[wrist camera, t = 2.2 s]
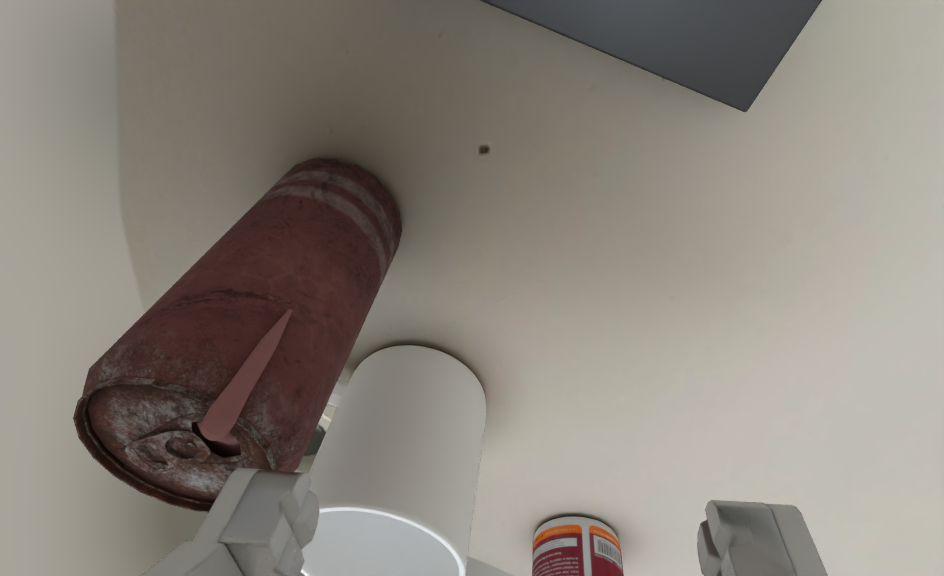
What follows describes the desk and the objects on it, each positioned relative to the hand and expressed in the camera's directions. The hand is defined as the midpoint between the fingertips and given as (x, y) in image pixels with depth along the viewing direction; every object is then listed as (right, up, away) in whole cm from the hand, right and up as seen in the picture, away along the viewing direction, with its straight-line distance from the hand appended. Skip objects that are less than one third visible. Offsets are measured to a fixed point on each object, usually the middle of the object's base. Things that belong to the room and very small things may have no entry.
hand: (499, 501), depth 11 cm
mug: (-5, -1, +21) cm, 22 cm away
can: (-7, +8, +15) cm, 18 cm away
